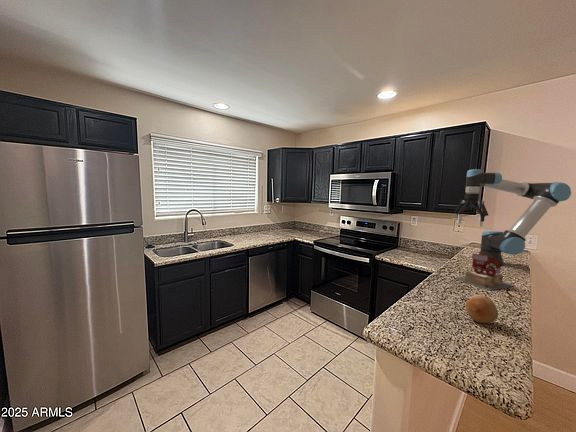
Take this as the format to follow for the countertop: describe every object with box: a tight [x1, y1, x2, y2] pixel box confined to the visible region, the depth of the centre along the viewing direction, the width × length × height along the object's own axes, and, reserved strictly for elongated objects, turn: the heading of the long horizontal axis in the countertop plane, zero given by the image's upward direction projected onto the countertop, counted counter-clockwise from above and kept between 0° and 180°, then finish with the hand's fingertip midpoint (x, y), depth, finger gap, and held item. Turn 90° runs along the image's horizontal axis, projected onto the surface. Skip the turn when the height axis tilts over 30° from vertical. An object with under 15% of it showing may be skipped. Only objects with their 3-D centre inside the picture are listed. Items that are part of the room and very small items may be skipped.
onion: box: [464, 295, 499, 324], centre depth 93 cm, size 10×10×10 cm
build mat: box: [454, 275, 515, 291], centre depth 136 cm, size 20×18×1 cm
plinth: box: [465, 270, 504, 287], centre depth 134 cm, size 14×10×5 cm
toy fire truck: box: [471, 253, 502, 276], centre depth 133 cm, size 7×12×10 cm, turn 49°
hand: (469, 225), depth 162 cm, fingers open, 13 cm apart
